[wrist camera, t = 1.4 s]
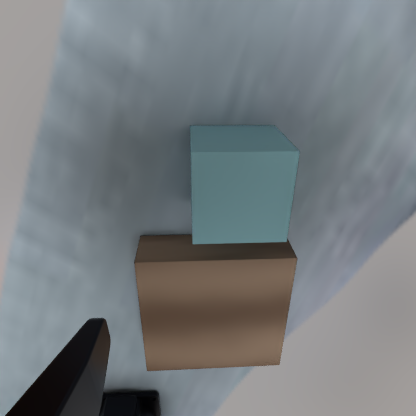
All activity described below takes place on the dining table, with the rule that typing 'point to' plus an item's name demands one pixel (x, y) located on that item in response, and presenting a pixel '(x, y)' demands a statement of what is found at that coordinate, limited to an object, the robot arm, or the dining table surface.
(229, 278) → the walnut base
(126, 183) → the dining table surface
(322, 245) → the dining table surface
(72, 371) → the robot arm
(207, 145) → the block
